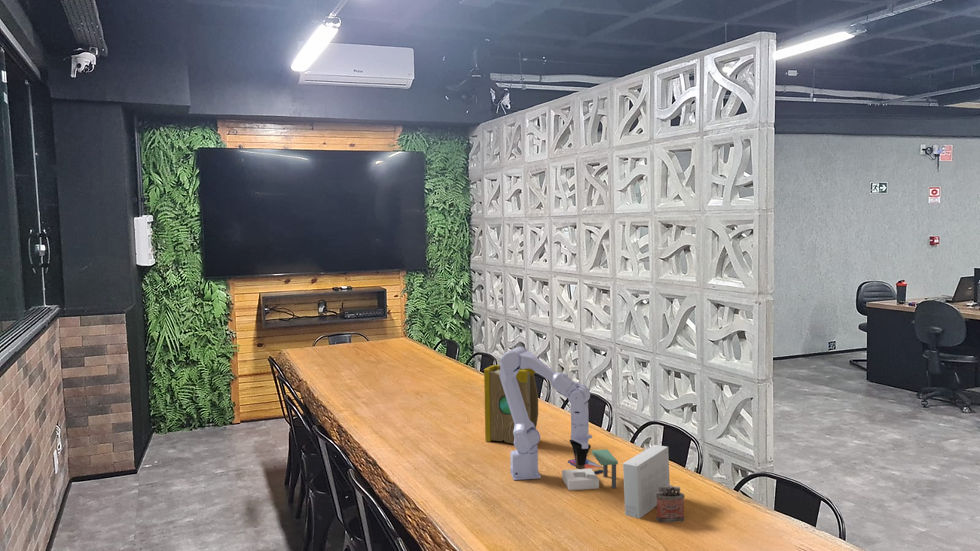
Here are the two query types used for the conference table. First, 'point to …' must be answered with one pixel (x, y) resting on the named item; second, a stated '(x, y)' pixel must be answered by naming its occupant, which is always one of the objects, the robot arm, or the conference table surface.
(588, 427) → the robot arm
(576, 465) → the peg
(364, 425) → the conference table surface
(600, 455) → the small green stool
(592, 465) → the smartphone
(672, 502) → the lighter
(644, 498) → the skincare box
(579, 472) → the socket block
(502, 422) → the decorative book
